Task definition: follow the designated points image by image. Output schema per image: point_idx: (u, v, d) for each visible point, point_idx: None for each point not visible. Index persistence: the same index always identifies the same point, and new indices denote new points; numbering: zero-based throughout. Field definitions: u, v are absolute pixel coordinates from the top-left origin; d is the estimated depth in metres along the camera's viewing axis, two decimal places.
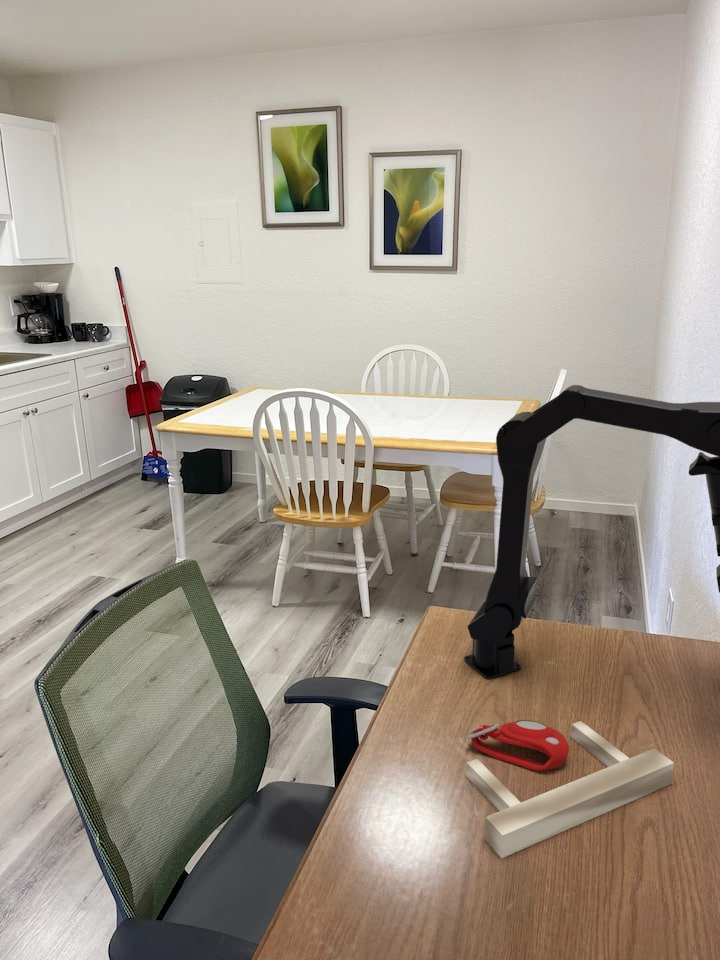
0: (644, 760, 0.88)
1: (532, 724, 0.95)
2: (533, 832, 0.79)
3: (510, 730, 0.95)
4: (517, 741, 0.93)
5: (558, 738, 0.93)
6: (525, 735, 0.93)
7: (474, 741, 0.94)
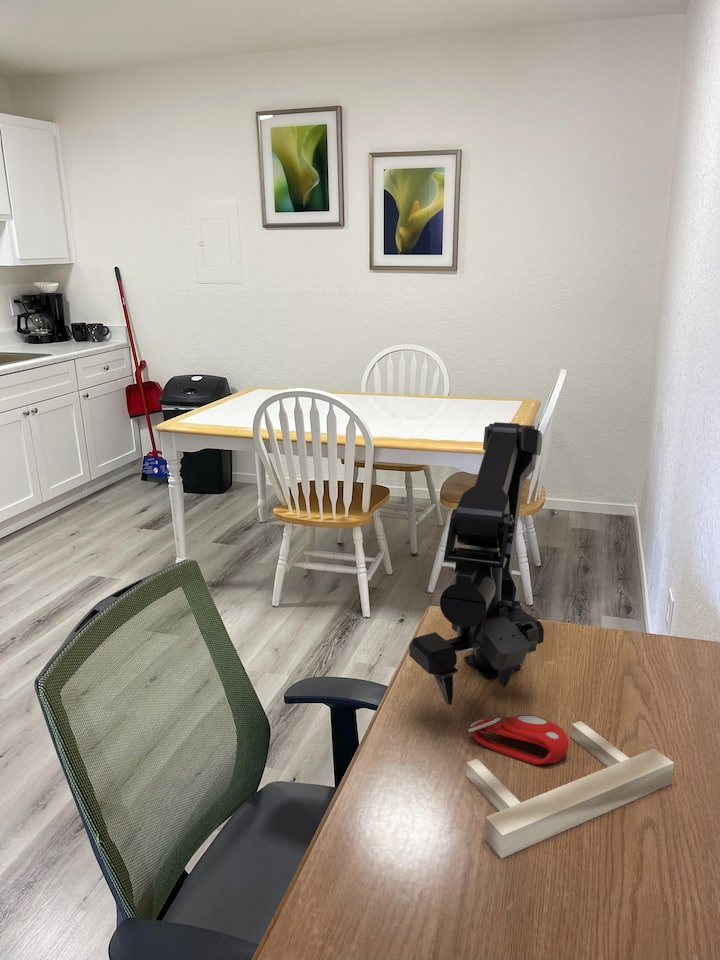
0: (644, 760, 0.88)
1: (533, 719, 0.96)
2: (533, 832, 0.79)
3: (511, 724, 0.96)
4: (517, 735, 0.94)
5: (558, 733, 0.94)
6: (525, 729, 0.94)
7: (475, 734, 0.96)
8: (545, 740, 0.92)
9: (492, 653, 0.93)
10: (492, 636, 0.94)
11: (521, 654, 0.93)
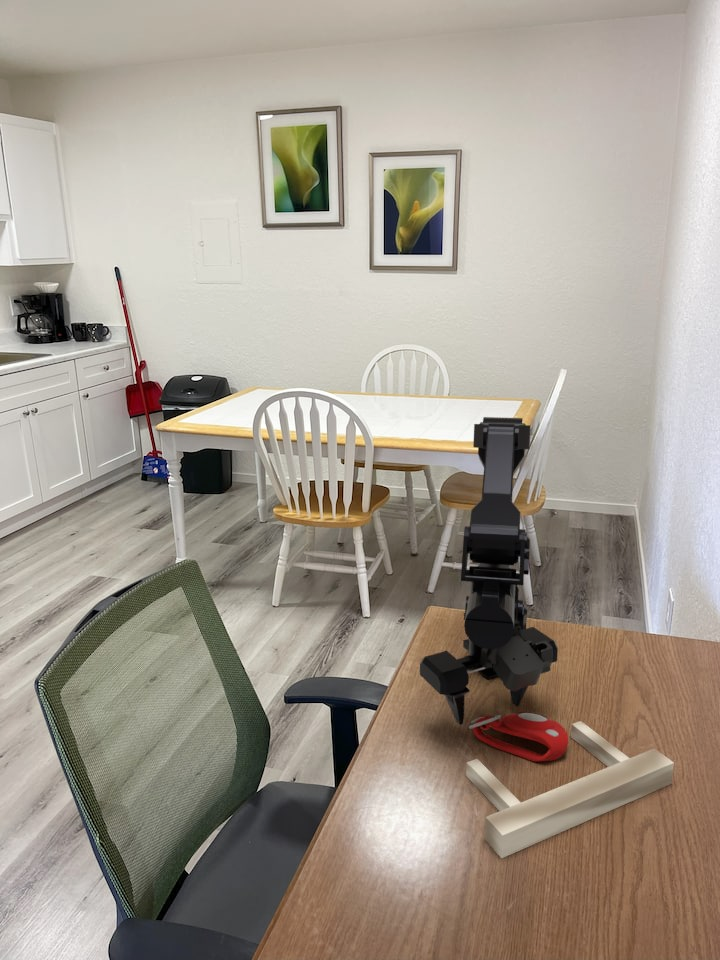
0: (644, 760, 0.88)
1: (533, 716, 0.97)
2: (533, 832, 0.79)
3: (511, 721, 0.97)
4: (517, 732, 0.94)
5: (558, 730, 0.95)
6: (525, 726, 0.95)
7: (475, 731, 0.96)
8: (545, 737, 0.92)
9: (505, 673, 0.91)
10: (505, 656, 0.92)
11: (535, 675, 0.91)
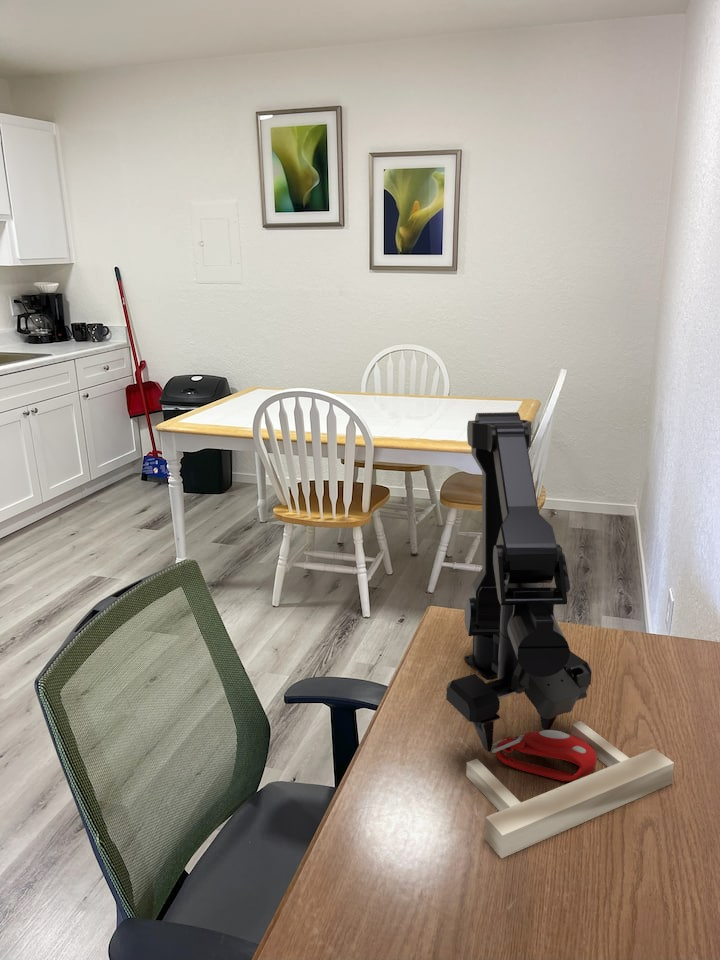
0: (644, 760, 0.88)
1: (555, 733, 0.93)
2: (533, 832, 0.79)
3: (534, 741, 0.93)
4: (544, 752, 0.90)
5: (583, 746, 0.92)
6: (551, 745, 0.91)
7: (499, 754, 0.92)
8: (574, 755, 0.89)
9: (539, 700, 0.86)
10: (539, 681, 0.86)
11: (571, 702, 0.86)
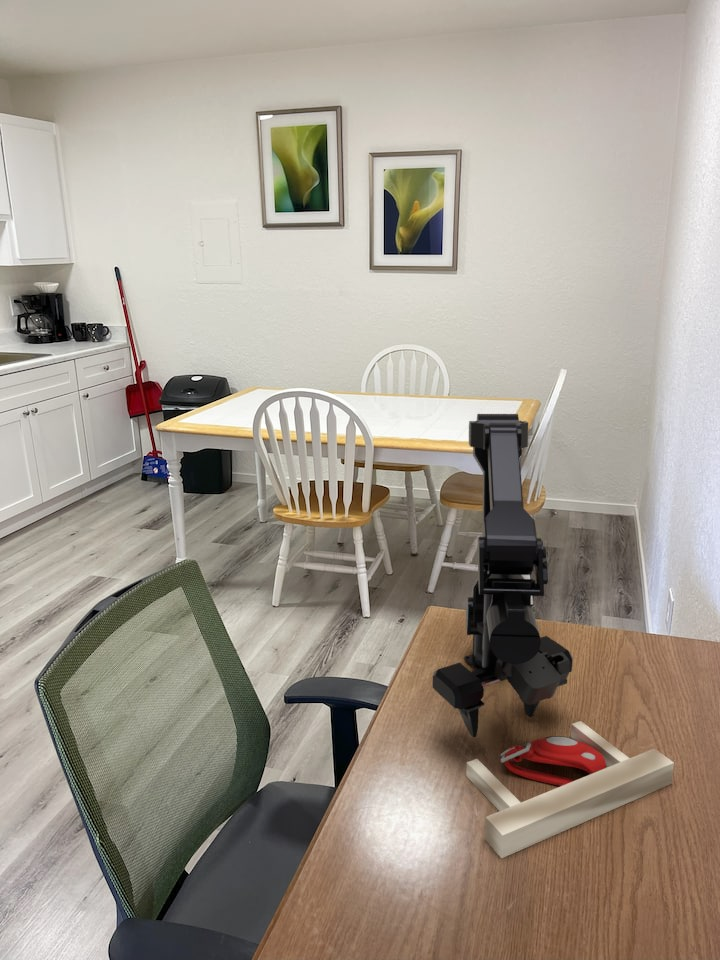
0: (644, 760, 0.88)
1: (563, 740, 0.92)
2: (533, 832, 0.79)
3: (542, 748, 0.91)
4: (554, 760, 0.89)
5: (592, 752, 0.91)
6: (560, 753, 0.90)
7: (508, 764, 0.90)
8: (585, 762, 0.88)
9: (521, 687, 0.89)
10: (521, 669, 0.89)
11: (552, 688, 0.89)
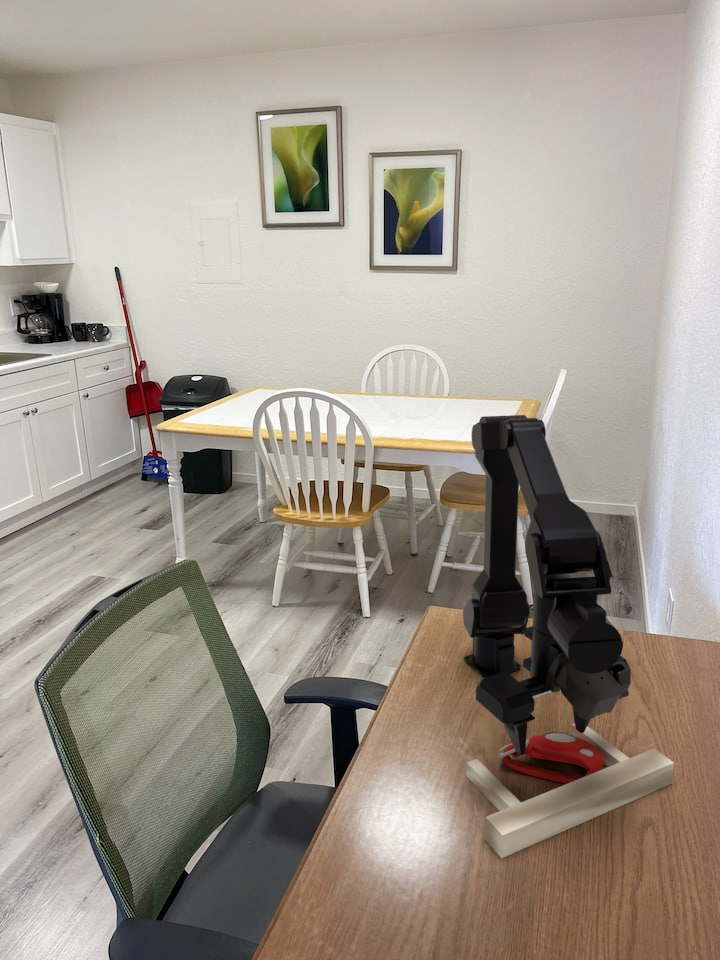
0: (644, 760, 0.88)
1: (562, 736, 0.93)
2: (533, 832, 0.79)
3: (541, 745, 0.92)
4: (552, 756, 0.90)
5: (590, 749, 0.91)
6: (558, 749, 0.90)
7: (506, 759, 0.91)
8: (582, 759, 0.88)
9: (578, 699, 0.79)
10: (578, 679, 0.80)
11: (612, 701, 0.79)
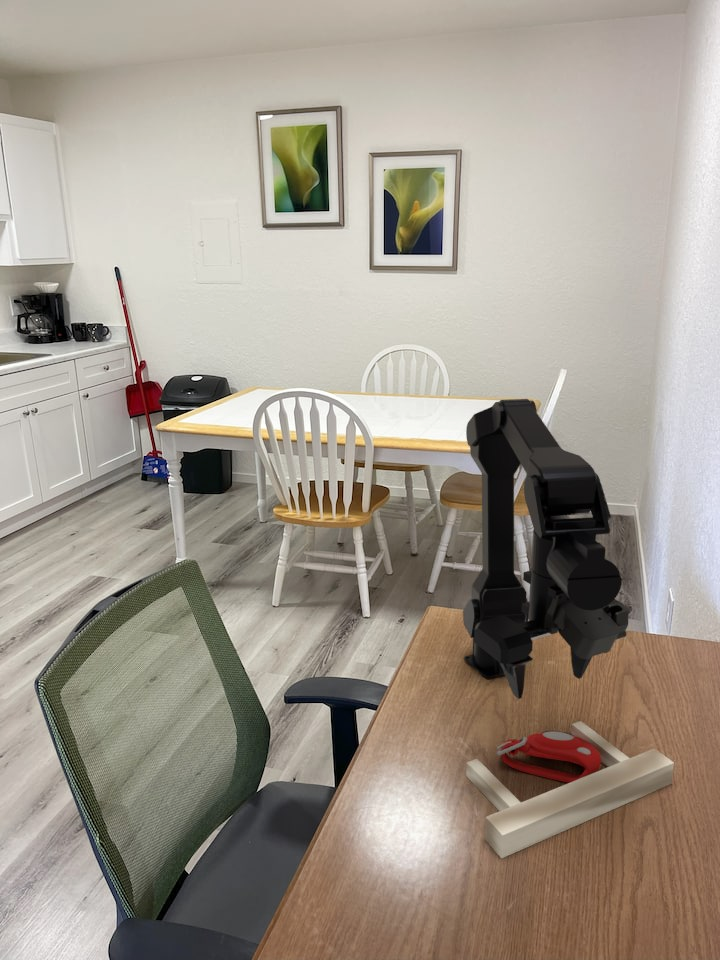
0: (644, 760, 0.88)
1: (560, 735, 0.93)
2: (533, 832, 0.79)
3: (539, 743, 0.92)
4: (549, 754, 0.90)
5: (588, 747, 0.92)
6: (556, 747, 0.91)
7: (504, 757, 0.91)
8: (580, 757, 0.89)
9: (576, 639, 0.80)
10: (575, 619, 0.80)
11: (610, 640, 0.80)
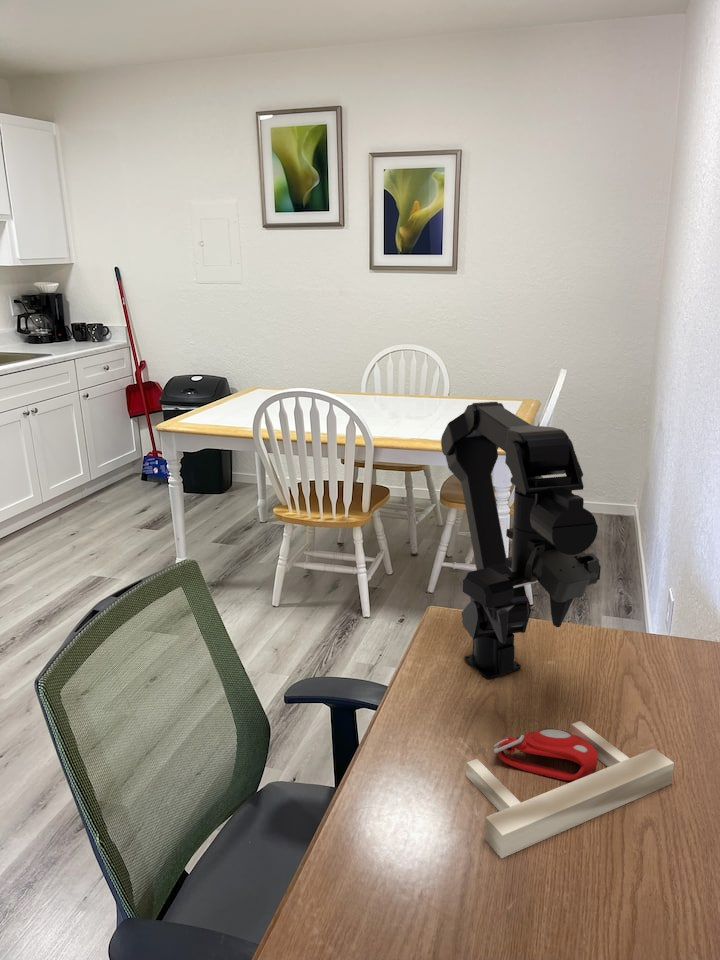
0: (644, 760, 0.88)
1: (556, 732, 0.94)
2: (533, 832, 0.79)
3: (535, 740, 0.93)
4: (546, 751, 0.91)
5: (585, 745, 0.92)
6: (553, 745, 0.91)
7: (501, 755, 0.92)
8: (576, 755, 0.89)
9: (552, 584, 0.90)
10: (552, 567, 0.91)
11: (582, 585, 0.90)
